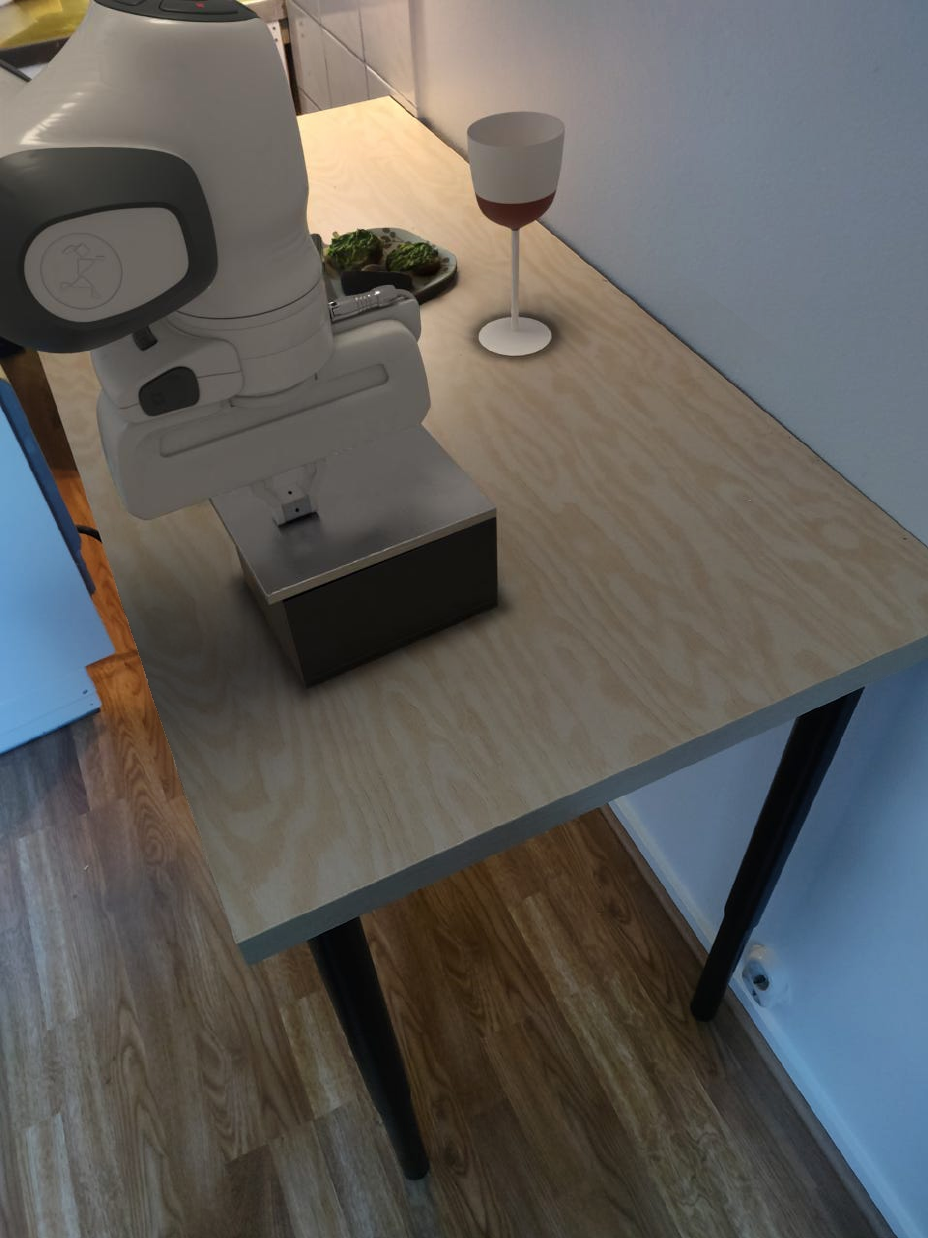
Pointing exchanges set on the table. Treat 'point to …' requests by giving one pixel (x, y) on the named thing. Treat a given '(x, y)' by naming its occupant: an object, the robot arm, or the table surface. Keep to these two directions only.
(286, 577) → the lid
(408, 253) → the salad plate
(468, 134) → the wineglass
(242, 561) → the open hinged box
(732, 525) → the table surface
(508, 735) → the table surface
